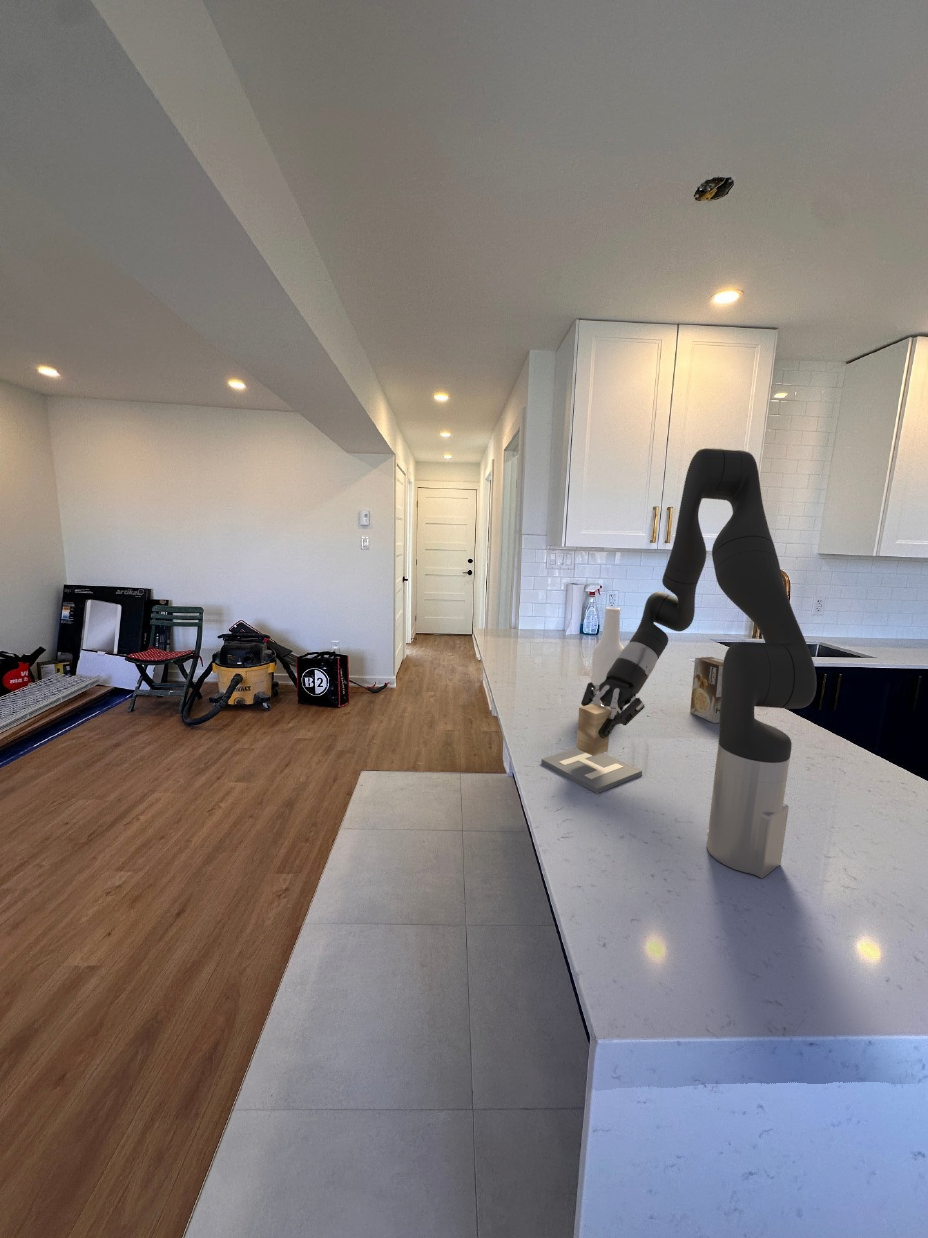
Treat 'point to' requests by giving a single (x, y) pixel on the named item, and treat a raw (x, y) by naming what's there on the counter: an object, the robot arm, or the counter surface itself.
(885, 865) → the counter surface
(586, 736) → the oak block
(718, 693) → the coffee box
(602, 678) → the alcohol
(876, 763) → the counter surface
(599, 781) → the letter board
